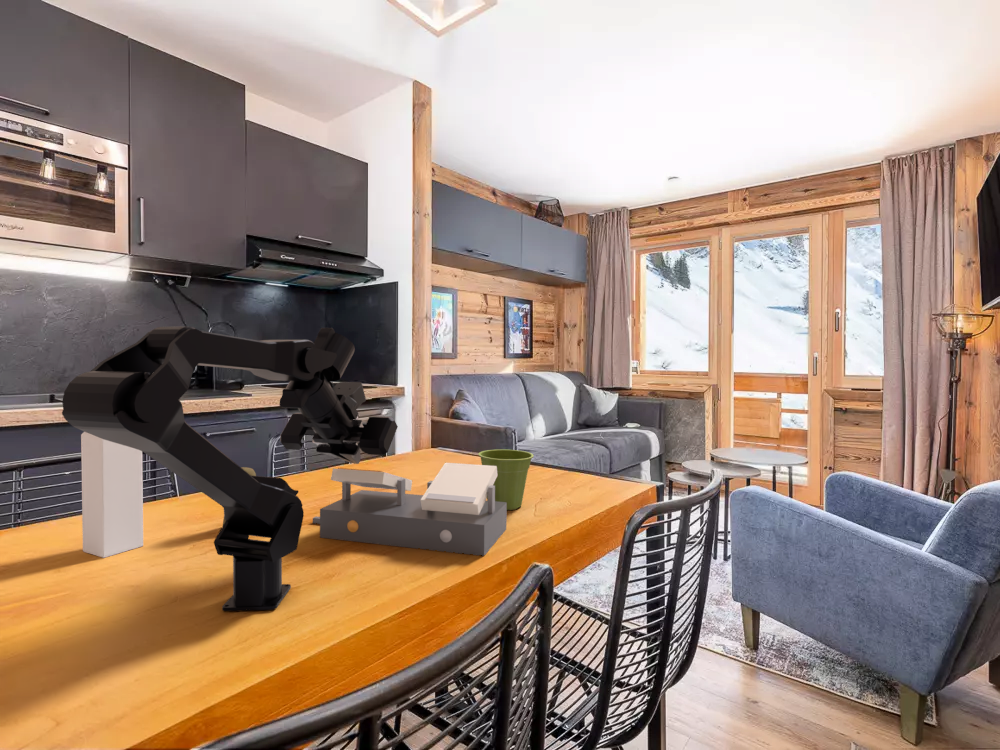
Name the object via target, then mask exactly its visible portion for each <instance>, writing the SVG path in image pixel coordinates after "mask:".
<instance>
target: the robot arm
mask: <svg viewBox="0 0 1000 750" xmlns="http://www.w3.org/2000/svg"><path fill="white" fill-rule="evenodd" d="M355 350H356V349H355V344H353V342H352V341H351V340H349V339H348V338H347V337H346V336H344V335H343V334H340V333H337V332H336V331H335V329H334V328H333V327H321V328H320V329H319V331H318V333H317V336H316V338H315V339H314V341H312V340H309V339H263V340H257V339H251V338H245V337H239V336H233V335H227V334H222V333H217V332H211V331H205V330H199V329H197V328H195V327H193V326H157V327H156V328H152V330H151V329H150V331H148V332H147V333H146V334H145V335H143V336H142V337H141V338H140V339H139V340H138V341H136V342H134V343H133V344H131V345H129V346H128V347H125V348H124V349H122V350H120V351H119V352H116V353H115V354H113V355H111V356H109V357H107V358H105V359H103V360H102V361H101V362H99V363H98V364H97V365H96V366H94V367H93V368H92V370H90V371H85V372H83V373H81V374H79V375H77V376H75V377H74V378H73V379H72V380H71V381H69V383H68V385H67V386H66V388H65V390H64V393H63V395H62V399H61V400H62V410H61V414H62V417H63V418H64V420H65V421H66V422H67V423H68V424H69V425H70V426H72V428H75V429H77V430H80V431H82V432H87V433H89V434H92V435H94V436H97V437H99V438H102V439H104V440H108V441H111V442H114V443H118V444H121V445H125V446H128V447H131V448H135V449H138V450H140V451H142V453H144V454H146V455H147V456H148V457H150V458H152V459H153V460H154V461H156V462H157V463H159V464H160V465H161V466H163V467H165V468H166V469H167V470H169V471H170V472H172V473H173V474H175V476H178V477H179V478H181V479H182V480H183V481H185V482H186V483H188V484H189V485H190V486H192V487H194V488H195V489H196V490H198V491H200V492H201V493H203V494H204V495H205V496H206V497H208V498H209V499H211V500H213V501H214V502H216V503H217V504H218V505H220V506H221V507H222V508H223V519H224V518H225V520H226V522H225V524H224V525H223V524H222V527H221V529H220V530H219V532H218V534H217V536H215V538H214V540H213V544H214V547H215V551H216V554H217V555H218V556H223V555H224V556H232V575H233V576H232V578H233V584H232V585H233V586H232V587H233V589H232V593H233V594H232V596H230V597H229V598H228V599H227V601H226V602H225V603H224V604H222V606H221V610H222V611H223V612H224V611H225V612H228V611H229V612H232V611H234V612H235V611H236V612H238V611H265V610H266V611H267V610H268V611H269V610H270V611H271V610H276V609H277V608H278V607H279V605H280V604H281V602H282V601H283V599H284V598H285V597H286V595H287V594H288V593H289V591H290V590H291V588H292V587H291V584H290V583H286V584H285V583H283V577H282V575H283V573H282V572H283V569H282V568H283V566H282V565H283V562H282V560H283V559H282V558H284V557H286V556H288V555H289V554H291V553H293V552H295V551H296V550H297V549H298V545H299V540H300V534H301V531H302V530H301V529H302V526H303V521H304V514H305V513H304V509H303V502H302V500H301V498H300V497H299V496H298V494H299V490H297V489H294V488H292V487H290V485H289V483H288V482H287V481H286V480H285V479H283V478H281V477H274V476H261V475H256V476H251V475H249V474H248V473H247V472H246V471H245V470H243V469H242V468H241V466H240V465H239V464H237V463H236V462H235V461H233V460H232V459H231V458H230V457H229V456H228V455H226V454H225V453H224V452H222V451H221V450H220V449H218V447H216V445H214V444H213V443H212V442H210V441H209V440H208V439H207V438H205V436H203V435H202V434H201V433H199V432H198V431H197V430H195V429H194V428H193V427H192V426H190V424H188V423H187V422H186V420H185V415H184V414H185V413H184V409H183V404H182V402H181V400H180V399H181V398H182V397H183V396H184V394H185V393H186V392H187V391H188V390H189V388H190V385H191V381H192V376H193V372H194V369H195V368H196V367H198V366H202V367H203V366H204V367H214V368H225V369H234V370H236V369H237V370H244V371H248V372H251V373H252V375H254V376H257V377H259V378H262V379H265V380H268V381H280V382H281V381H284V382H285V381H287V382H288V384H287V385H286V386H285V388H283V389H282V393H281V394H282V395H281V397H280V400H279V407H280V408H283V409H297V410H298V411H299V412H294V413H292V415H291V416H290V418H289V419H288V421H287V422H286V425H285V426H284V428H283V430H282V432H281V434H280V435H279V437H280V438H279V440H280V444H282V445H283V447H284V448H285V450H294V451H295V450H296V451H300V450H301V449H302V447H303V446H304V444H303V442H302V439H303V437H304V436H310V437H311V436H312V443H313V444H315V445H316V449H315V451H316V452H317V453H318V454H323V455H327V456H330V457H333V458H336V459H340V460H342V461H345V462H347V463H351V464H354V465H359V464H360V462H361V452H363V453H364V454H366V455H374V456H384V455H386V454H388V452H389V450H390V447H391V445H392V442H393V440H394V437H395V435H396V432H397V430H398V424H397V422H396V421H395V419H394V418H393V416H383V415H380V416H379V415H371V416H369V417H368V419H367V422H366V423H363V420H362V419H357V418H358V416H359V412H358V411H357V409H358V408H360V406H361V405H362V404H363V403H365V402H366V401H367V398H366V395H365V390H364V387H363V383H362V382H360V381H340V379H341V378H342V376H343V374H344V373H345V371H346V368H347V366H348V365H349V363H350V361H351V359H352V357H353V355H354V353H355ZM337 381H339V382H337ZM250 536H251V537H257V538H258V537H259V538H269V539H270V540H261V539H252V538H250Z"/></svg>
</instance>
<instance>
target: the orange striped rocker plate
mask: <svg viewBox="0 0 1000 750" xmlns="http://www.w3.org/2000/svg"><path fill="white" fill-rule="evenodd" d="M401 478H402V479H405V492H407V491H408V492H411V491H412V484H413V480H412V479H410V478H407V477H404V476H403V477H402V476H399V475H395V474H392V473H390V472H389V473H388V472H385V471H384V470H383V471H382V470H371V469H357V468H346V467H345V468H344V467H338V468H332V470H331V476H330V480H331V481H334V482H339V483H342V482H343V483H348V484H351V486H352V485H353V486H358V487H362V488H374V489H383V490H384V489H385V490H397V480H399V479H401Z"/></svg>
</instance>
